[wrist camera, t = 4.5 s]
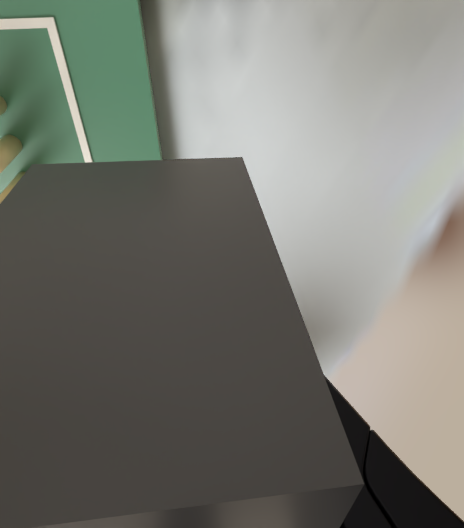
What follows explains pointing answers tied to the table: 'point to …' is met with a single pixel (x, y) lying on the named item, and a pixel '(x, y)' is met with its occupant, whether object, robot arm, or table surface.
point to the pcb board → (73, 85)
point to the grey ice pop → (158, 357)
